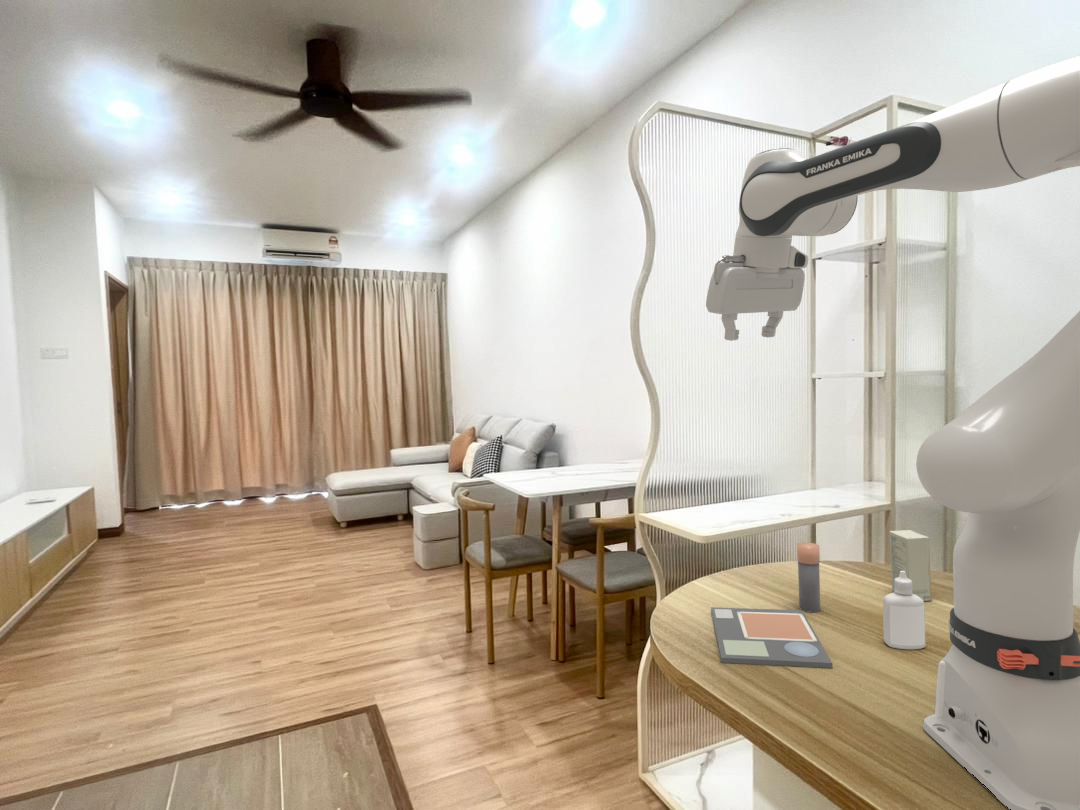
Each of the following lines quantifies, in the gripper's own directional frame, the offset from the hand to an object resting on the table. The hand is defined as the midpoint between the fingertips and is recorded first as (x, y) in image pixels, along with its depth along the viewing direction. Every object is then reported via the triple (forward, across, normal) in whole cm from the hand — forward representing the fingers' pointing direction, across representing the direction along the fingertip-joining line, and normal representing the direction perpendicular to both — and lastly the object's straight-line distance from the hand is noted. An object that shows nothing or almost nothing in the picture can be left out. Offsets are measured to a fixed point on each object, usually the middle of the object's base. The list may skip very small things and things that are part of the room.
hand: (749, 338), depth 102 cm
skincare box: (+49, +31, -21) cm, 61 cm away
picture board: (+48, -5, -15) cm, 51 cm away
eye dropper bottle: (+46, +10, -30) cm, 55 cm away
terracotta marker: (+50, +11, -13) cm, 52 cm away
